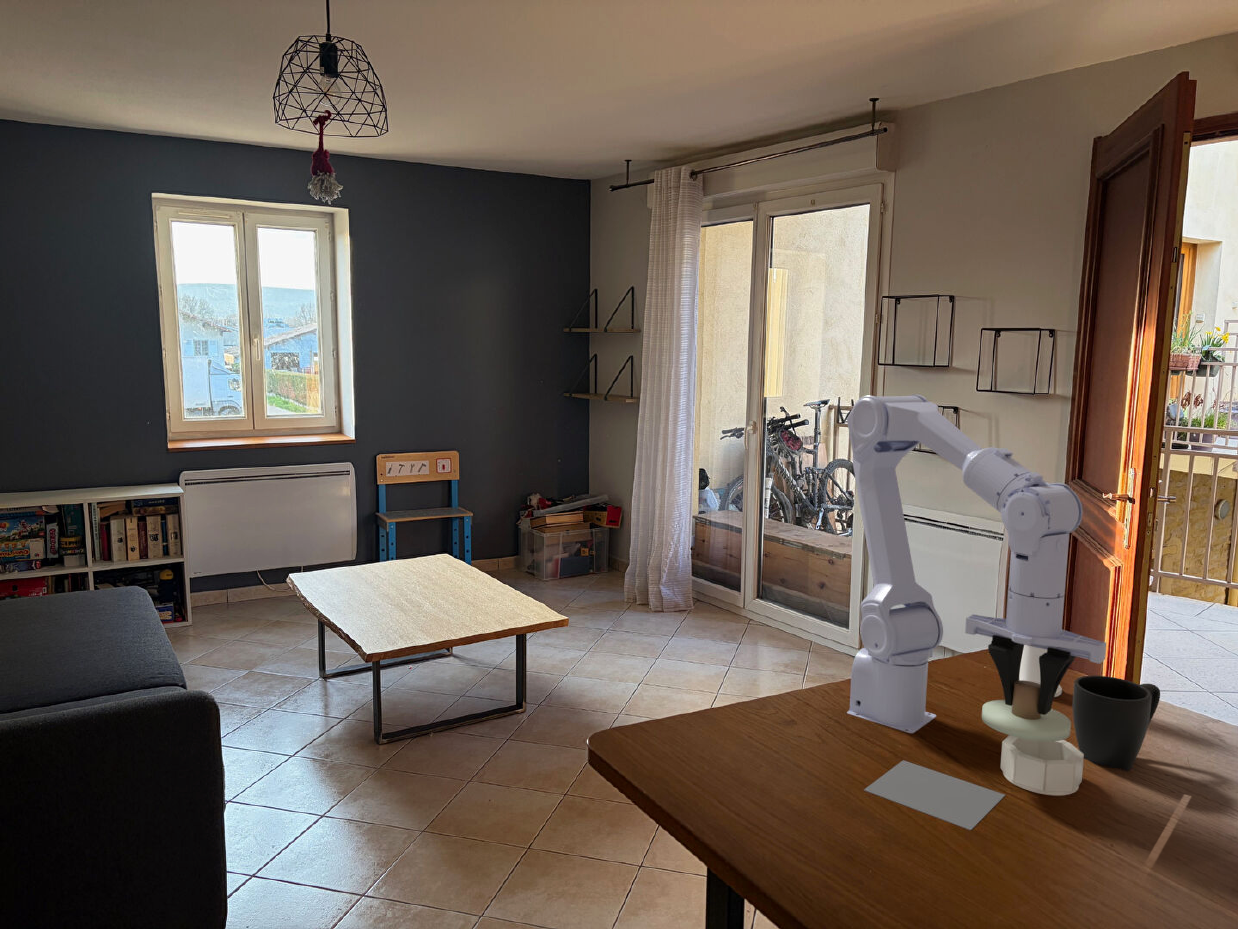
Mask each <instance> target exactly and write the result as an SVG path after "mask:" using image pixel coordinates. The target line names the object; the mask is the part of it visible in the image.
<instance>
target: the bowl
mask: <svg viewBox="0 0 1238 929" xmlns="http://www.w3.org/2000/svg"><path fill="white" fill-rule="evenodd" d="M1084 760H1085V759H1084V755H1083V753H1082V752H1081V751H1080V750H1079V748H1077V747H1076V746H1074V745H1073V744H1072V743H1071V742H1068V741H1067V740H1065V739H1064V740H1060V741H1035V740H1028V739H1023V738H1018V737H1014V736H1011V735H1007V737H1006V738H1005V739H1004V740H1002V742H1001V755H1000V769H1001V770H1002V774H1003V776H1004V777H1005V778H1006V780H1007V781H1008V782H1010V783H1011V784H1013V785H1015V786H1017V787H1019V788H1021V789H1022V790H1023V789H1024V790H1027V791H1029V792H1033V793H1036V794H1040V795H1041V794H1042V795H1047V796H1066V795H1071V794H1073V793H1076V792H1077V791H1078V790H1079V788H1080V784H1081V783H1082V782H1083V771H1084V770H1083V769H1084Z"/></svg>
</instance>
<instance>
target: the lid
mask: <svg viewBox="0 0 1238 929" xmlns="http://www.w3.org/2000/svg"><path fill="white" fill-rule="evenodd" d="M1039 695H1040V684H1038V683H1035V682H1031V681H1024V680H1019V681H1015V682H1014V691H1013V702H1012V706H1010V705H1006V704H1005V699H995V700H991V701H987V702H984V704H983V705H982V710H981V721H983V723H984V724H985V725H987V726H988V727H990V728H991V729H993V730H996V731H997V732H999V733H1003V734H1005V735H1007V736H1009V735H1011V736H1014V737H1018V738H1023V739H1028V740H1035V741H1060V740H1064V741H1065V740H1066V739H1068V738H1069V737H1070V736H1071V732H1072V731H1071V728H1072V721H1071V719H1070V718H1069V717H1068V716H1066V715H1065V714H1063V713H1062V712H1060V711H1058V710H1055V709H1053V708H1051V711H1049V712H1048V713H1047V714H1046V715H1042V714H1039V713H1038V703H1039Z"/></svg>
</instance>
